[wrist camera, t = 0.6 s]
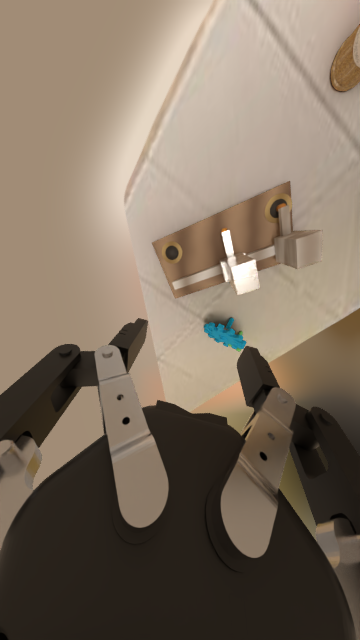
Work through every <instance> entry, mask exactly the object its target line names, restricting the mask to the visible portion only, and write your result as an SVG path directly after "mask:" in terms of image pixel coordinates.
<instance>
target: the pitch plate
mask: <svg viewBox="0 0 360 640" xmlns="http://www.w3.org/2000/svg"><path fill="white" fill-rule="evenodd" d="M223 228H227V230H229V232H230V237H231V242H232V247H233V251H234V255H235V254H237V253H240V252H243V253H245V255H247V256H249V257H251V258H253V259H255V260H256V267H257V271H259V270H262V269H265V268H268V267H271V266H274V265H277V264H280V263H282V264H285V265H288V266H291V267H293V268H296V269H299V268H302V267H305V266H308V265H312V264H315V263H318V262H321V261H322V234H323V230H309V231H293V226H292V200H291V189H290V181H289V182H286V183H284V184H282V185H280V186H278V187H275V188H273V189H271V190H269V191H266V192H264V193H262V194H260V195H257V196H255V197H253V198H251V199H249V200H246V201H244V202H242V203H240V204H237V205H235V206H233V207H231V208H229V209H226V210H224V211H222V212H220V213H217V214H215V215H213V216H211V217H209V218H206V219H204V220H202V221H200V222H197V223H195V224H193V225H191V226H189V227H186V228H184V229H182V230H180V231H177V232H175V233H173V234H171V235H168V236H166V237H164V238H162V239H160V240H157V241H155V242H153V243H152V244H153V247H154V249H155V251H156V254H157V256H158V259H159V261H160V263H161V266H162V268H163V271H164V273H165V275H166V278H167V280H168V283H169V285H170V287H171V290H172V292H173V295H174V297H175V298H178V297H181V296H184V295H187V294H190V293H193V292H196V291H199V290H202V289H205V288H208V287H211V286H214V285H217V284H220V283H223V282H226V281H225V280H224V277H223V273H222V269H221V265H220V261H219V260H221V259H224V258H227V256H226V252H225V248H224V243H223V239H222V235H221V230H222V229H223Z"/></svg>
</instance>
